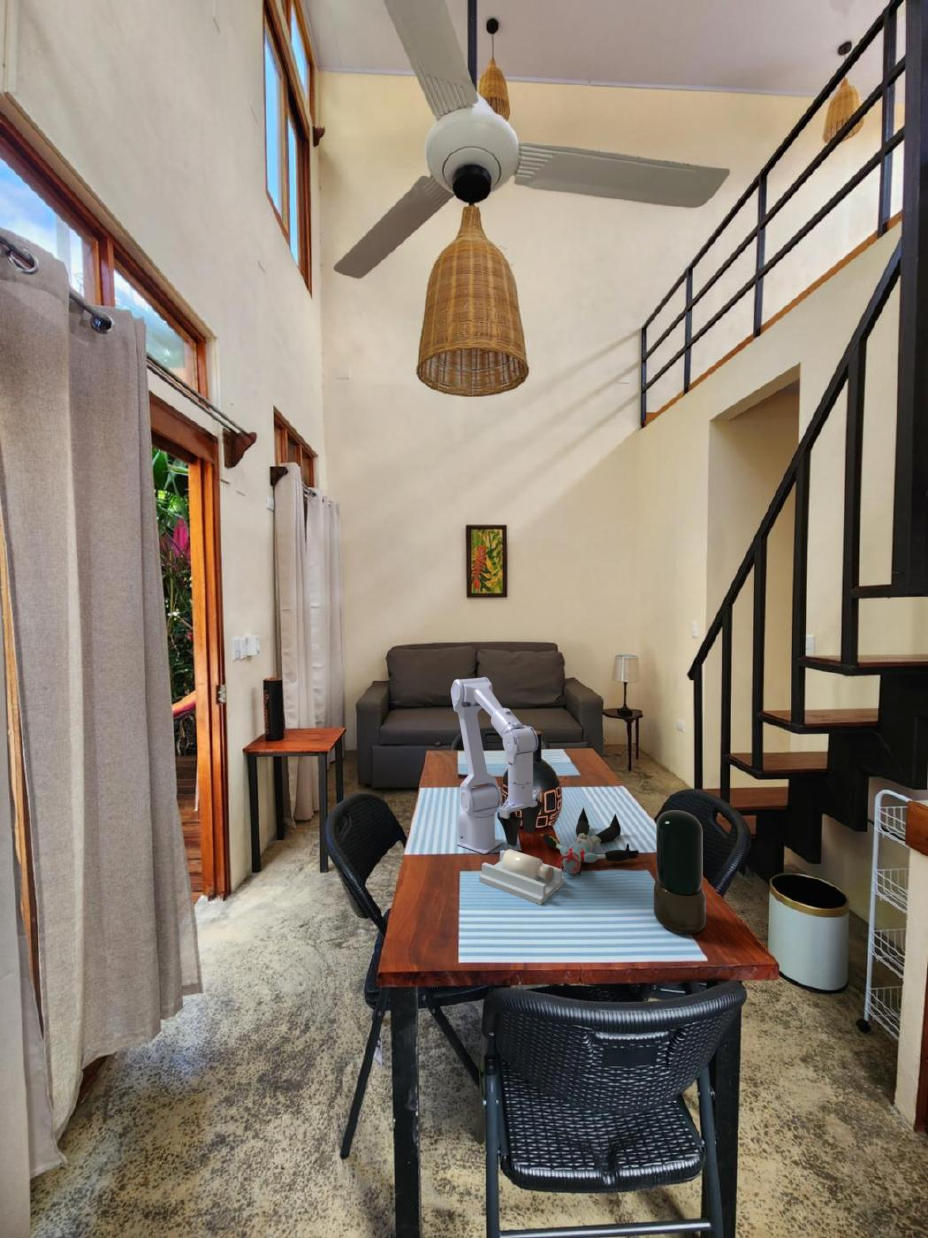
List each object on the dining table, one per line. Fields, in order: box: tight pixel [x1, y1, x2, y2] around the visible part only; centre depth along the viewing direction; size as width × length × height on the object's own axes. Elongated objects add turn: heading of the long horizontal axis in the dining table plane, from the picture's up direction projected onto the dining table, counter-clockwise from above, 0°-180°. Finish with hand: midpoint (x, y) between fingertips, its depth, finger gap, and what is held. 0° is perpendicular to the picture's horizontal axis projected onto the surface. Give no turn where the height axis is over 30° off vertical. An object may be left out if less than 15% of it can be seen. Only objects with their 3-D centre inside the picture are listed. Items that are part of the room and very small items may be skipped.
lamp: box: [653, 809, 707, 935], centre depth 102 cm, size 10×10×22 cm
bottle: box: [502, 848, 554, 882], centre depth 118 cm, size 11×5×5 cm, turn 53°
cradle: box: [478, 849, 565, 906], centre depth 118 cm, size 16×11×4 cm
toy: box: [540, 806, 640, 877], centre depth 131 cm, size 26×8×30 cm
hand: (520, 838), depth 119 cm, fingers open, 7 cm apart
